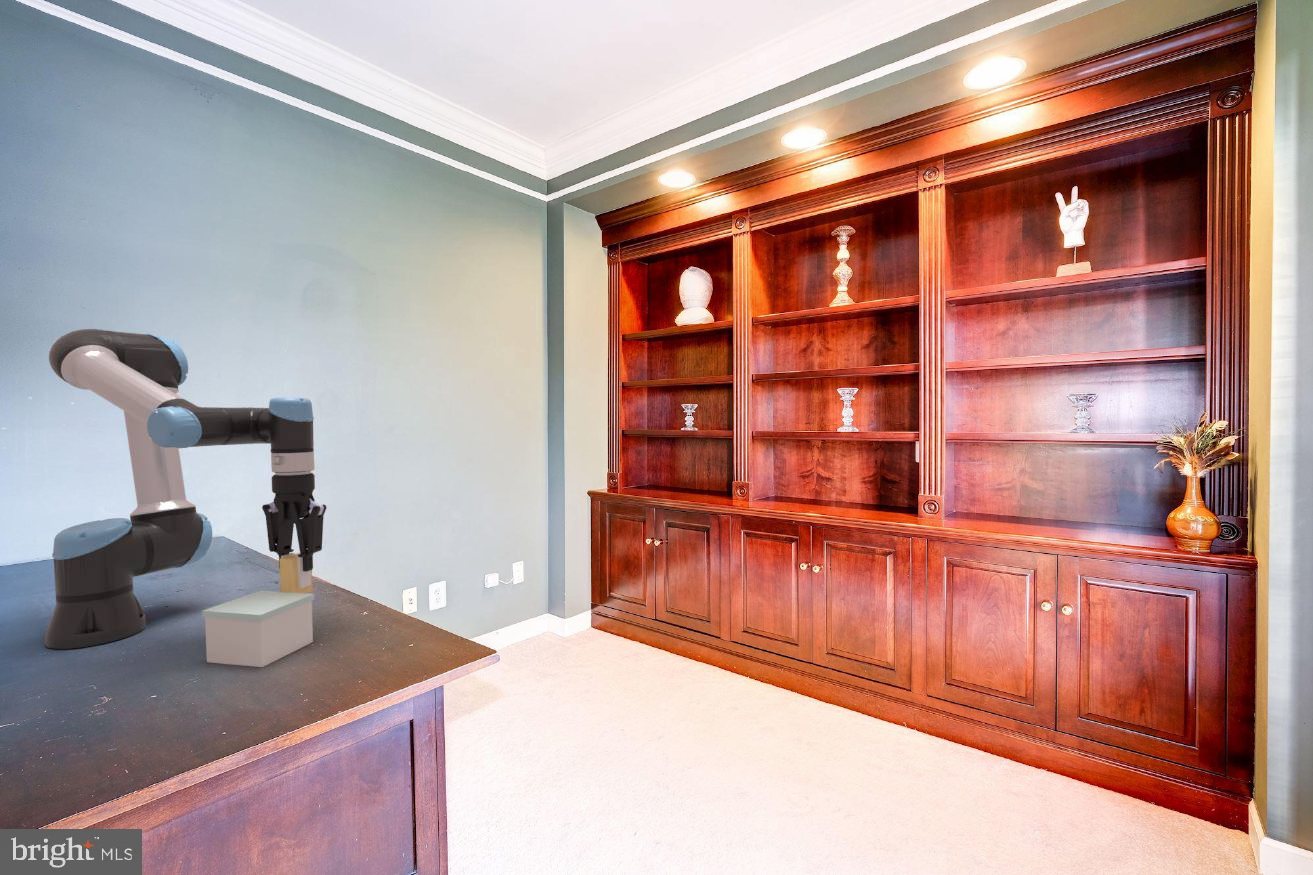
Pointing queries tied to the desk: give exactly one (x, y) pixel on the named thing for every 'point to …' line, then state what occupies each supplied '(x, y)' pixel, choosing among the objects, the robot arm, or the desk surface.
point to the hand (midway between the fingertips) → (296, 585)
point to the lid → (266, 598)
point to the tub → (258, 637)
